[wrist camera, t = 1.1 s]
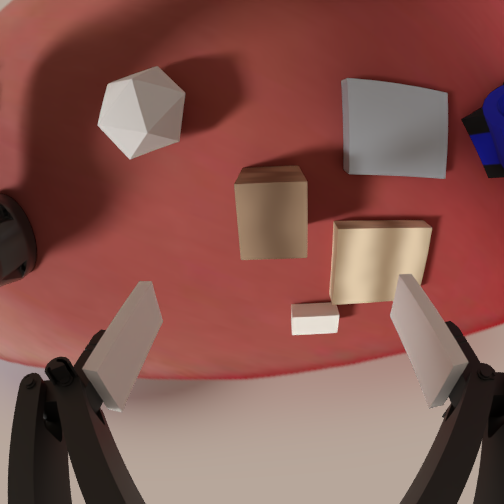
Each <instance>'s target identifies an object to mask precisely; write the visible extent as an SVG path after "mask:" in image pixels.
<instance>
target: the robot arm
mask: <svg viewBox="0 0 504 504" xmlns="http://www.w3.org/2000/svg"><path fill="white" fill-rule="evenodd" d="M35 262H36V242H35V238H34V234H33V231H32V228H31V225H30V223H29V221H28V218H27V217H26V215H25V213H24V211H23V210H22V208H21V207H20V206H19V205H18V203H17V202H16V201H15V200H13V199H12V198H11V197H9V196H7V195H4V194H0V286H3V285H6V284H9V283H12V282H15V281H18V280H21V279H22V278H24V277H25V276H26V275H27V274H28V273H30V272H31V271H32V269H33V268H34V265H35ZM390 317H391V319H392V321H393V323H394V326H395V328H396V330H397V332H398V334H399V336H400V339H401V341H402V343H403V345H404V348H405V350H406V352H407V355H408V357H409V359H410V362H411V364H412V366H413V369H414V371H415V374H416V376H417V379H418V381H419V383H420V386H421V389H422V391H423V394H424V396H425V399H426V402H427V404H428V407H429V408H433V407H437V406H441V405H443V404H444V403H445V401H446V400H447V398H448V397H449V398H450V401H451V404H450V406H449V407H448V409H447V410H446V412H445V413H444V414H443V416H442V417H444V420H443V422H442V425H441V427H440V430H439V432H438V434H437V436H436V438H435V441H434V443H433V445H432V447H431V449H430V451H429V453H428V455H427V457H426V459H425V461H424V463H423V465H422V467H421V469H420V471H419V472H418V474H417V476H416V478H415V479H414V481H413V483H412V485H411V486H410V488H409V490H408V491H407V493H406V495H405V496H404V498H403V499H402V501H401V502H400V504H457V502H458V500H459V498H460V496H461V494H462V492H463V489H464V487H465V485H466V482H467V480H468V478H469V475H470V473H471V470H472V467H473V465H474V462H475V459H476V457H477V454H478V451H479V448H480V444H481V441H482V451H481V460H480V468H479V475H478V481H477V487H476V493H475V497H474V502H473V504H504V373H501V372H495V370H494V369H493V368H492V367H491V366H489V365H488V364H484V363H480V361H479V360H478V358H477V356H476V355H475V353H474V351H473V350H472V348H471V346H470V345H469V343H468V342H467V340H466V338H465V337H464V336H463V334H462V332H461V331H460V329H459V328H458V327H457V326H456V325H455V324H454V323H452V322H451V321H448V322H444V321H443V319H442V317H441V316H440V314H439V313H438V311H437V310H436V308H435V307H434V305H433V304H432V302H431V301H430V299H429V298H428V296H427V295H426V294H425V292H424V291H423V289H422V288H421V286H420V285H419V284H418V282H417V281H416V279H415V278H414V277H413V275H412V274H399V277H398V282H397V287H396V292H395V297H394V301H393V305H392V310H391V314H390ZM162 322H163V320H162V316H161V313H160V309H159V306H158V302H157V299H156V295H155V292H154V288H153V284H152V281H139V283H138V284H137V285H136V287H135V288H134V290H133V291H132V293H131V294H130V295H129V297H128V298H127V300H126V301H125V303H124V304H123V306H122V307H121V309H120V310H119V312H118V313H117V314H116V316H115V317H114V319H113V321H112V322H111V324H110V325H109V327H108V328H107V330H100V331H99V332H98V333H96V334H95V335H94V336H93V337H92V339H91V340H90V342H89V345H87V347H86V348H85V351H83V353H82V354H81V356H80V357H79V359H78V360H77V362H76V364H75V365H74V367H73V366H72V364H71V362H70V361H69V359H68V358H66V357H57V358H55V359H53V360H51V361H50V362H49V363H48V364H47V366H46V368H45V373H46V375H47V376H48V378H49V379H50V380H47V381H43V380H42V378H41V377H40V375H39V374H37V373H31V374H28V375H26V376H25V377H24V378H23V379H22V381H21V383H20V386H19V391H18V396H17V401H16V407H15V412H14V419H13V426H12V433H11V442H10V453H9V468H8V504H72V500H71V491H70V480H69V466H68V453H69V456H70V460H71V463H72V466H73V469H74V472H75V475H76V478H77V481H78V484H79V487H80V489H81V492H82V495H83V497H84V500H85V502H86V504H145V502H144V500H143V498H142V497H141V495H140V493H139V491H138V490H137V487H136V486H135V484H134V482H133V480H132V478H131V476H130V474H129V472H128V470H127V468H126V466H125V464H124V462H123V459H122V457H121V455H120V453H119V450H118V448H117V446H116V444H115V441H114V439H113V437H112V434H111V432H110V430H109V427H108V424H107V421H106V419H105V416H104V413H103V411H102V410H101V408H100V407H101V405H102V403H103V402H104V404H105V405H106V407H107V408H108V409H110V410H114V411H119V412H123V409H124V407H125V405H126V402H127V400H128V398H129V395H130V393H131V390H132V388H133V386H134V384H135V381H136V379H137V377H138V375H139V372H140V370H141V368H142V366H143V363H144V361H145V359H146V357H147V355H148V352H149V350H150V348H151V346H152V344H153V342H154V339H155V337H156V335H157V333H158V331H159V329H160V327H161V325H162Z"/></svg>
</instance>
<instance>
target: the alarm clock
mask: <svg viewBox="0 0 504 504" xmlns="http://www.w3.org/2000/svg"><path fill="white" fill-rule="evenodd" d="M461 120H462V122H463V124H464V126H465V128H466V130H467V132H468V134H469V136H470V138H471V140H472V142H473V144H474V146H475V148H476V150H477V152H478V155H479V157H480V159H481V161H482V164H483V166H484V168H485V171H486V173H487V176H488V178H499V177H504V83H503V85H502V86H500V87H498V88H497V89H495V90H494V91H492V92H491V93H490V94H489V95H488V96H487V98H486V99H485V100H484V104H483V107H482V108H480V109H479V110H477V111H475V112H473V113H472V114H470V115H468V116H467V117H465V118H463V119H461Z"/></svg>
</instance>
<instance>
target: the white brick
mask: <svg viewBox="0 0 504 504" xmlns="http://www.w3.org/2000/svg"><path fill="white" fill-rule="evenodd" d="M338 322H339V312H338V308H337V305H332V302H329V303H309V304H291V326H292V335H306V334H324V333H337V329H338Z"/></svg>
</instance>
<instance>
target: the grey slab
mask: <svg viewBox="0 0 504 504" xmlns="http://www.w3.org/2000/svg"><path fill="white" fill-rule="evenodd" d="M341 87H342V107H343V170H344V171H346V172H347V173H348V174H357V175H391V176H411V177H427V178H440V179H445V175H446V163H447V145H448V93H445V92H441V91H436V90H432V89H427V88H422V87H416V86H410V85H404V84H398V83H391V82H383V81H375V80H365V79H353V78H346V79H344V80H342V81H341Z"/></svg>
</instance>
